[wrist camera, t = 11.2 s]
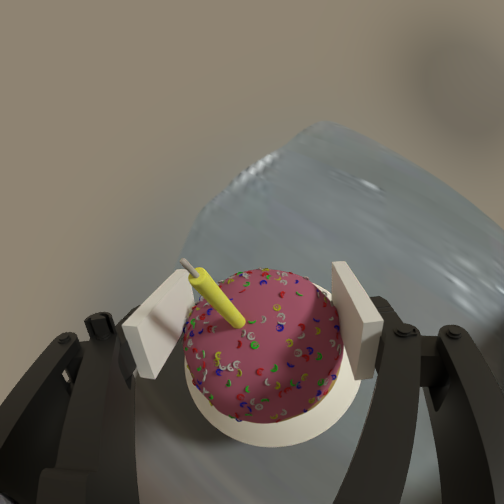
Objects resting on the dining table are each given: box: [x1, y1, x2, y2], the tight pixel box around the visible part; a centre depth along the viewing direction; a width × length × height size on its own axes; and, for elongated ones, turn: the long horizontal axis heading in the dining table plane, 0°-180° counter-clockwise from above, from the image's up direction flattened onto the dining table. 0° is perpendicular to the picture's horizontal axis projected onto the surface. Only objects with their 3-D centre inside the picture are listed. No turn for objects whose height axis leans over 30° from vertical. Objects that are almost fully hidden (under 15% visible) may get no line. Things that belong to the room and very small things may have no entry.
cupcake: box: [180, 258, 344, 424], centre depth 12 cm, size 9×8×12 cm
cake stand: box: [185, 283, 361, 447], centre depth 24 cm, size 15×15×8 cm
